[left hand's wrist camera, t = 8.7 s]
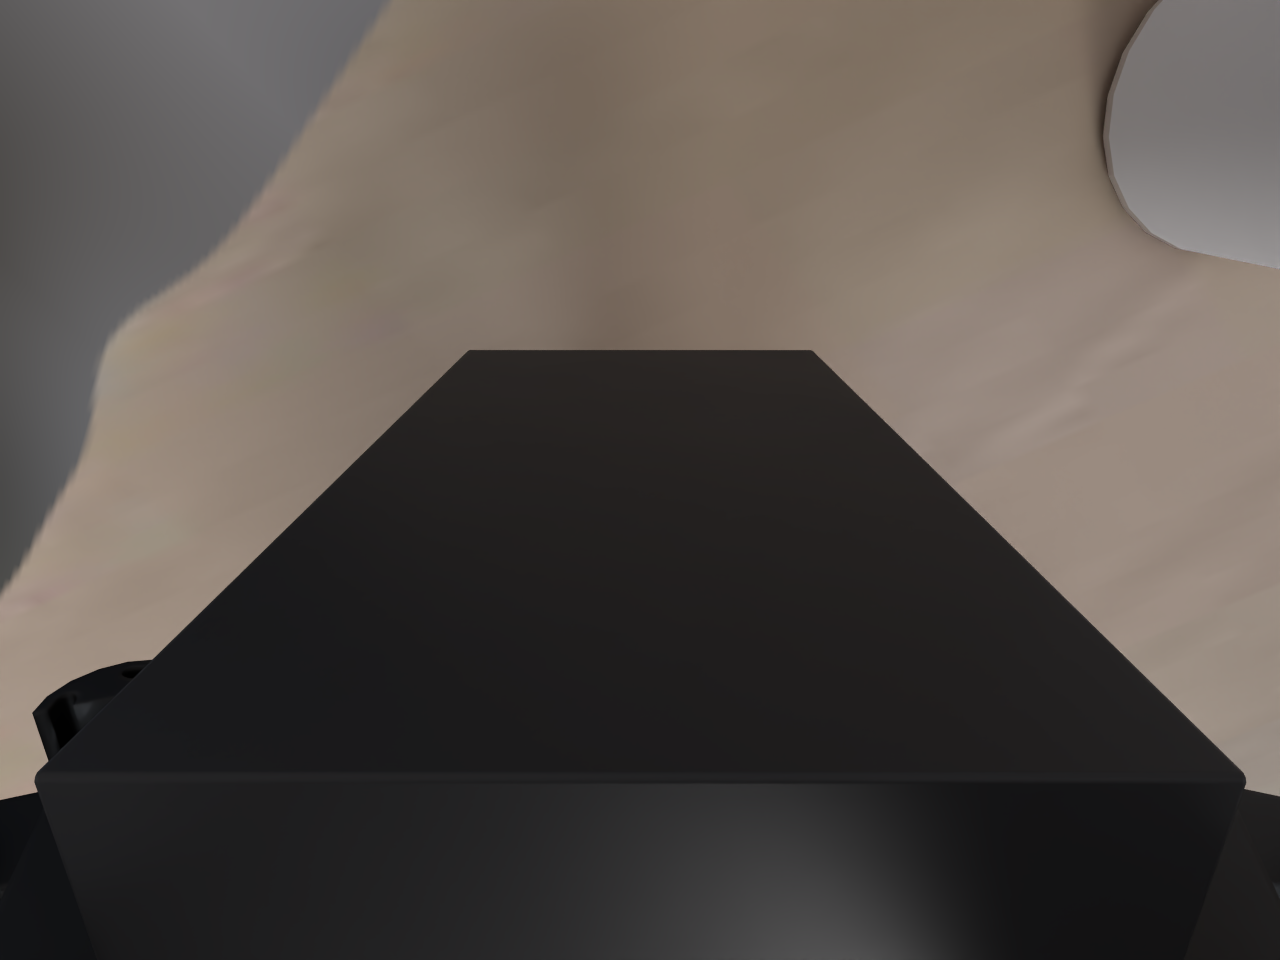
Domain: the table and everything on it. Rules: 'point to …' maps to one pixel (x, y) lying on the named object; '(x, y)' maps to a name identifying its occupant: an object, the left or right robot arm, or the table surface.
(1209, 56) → the mug
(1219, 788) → the box
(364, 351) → the table surface
